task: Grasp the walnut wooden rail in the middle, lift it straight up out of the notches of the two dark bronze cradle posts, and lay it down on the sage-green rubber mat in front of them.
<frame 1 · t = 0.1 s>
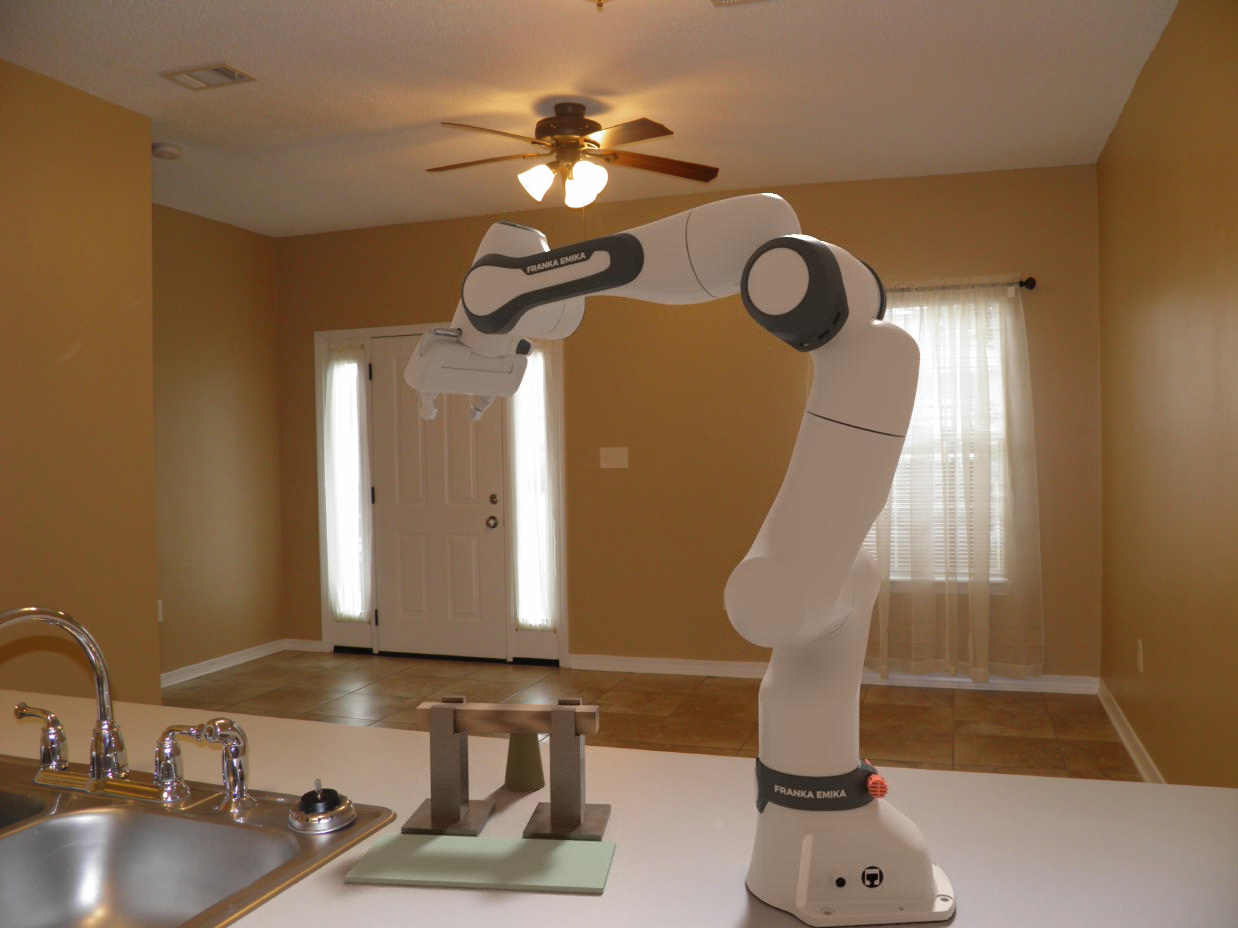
hand: (450, 418, 135), 54 cm above the counter, tool tilted 30°, fingers open, 8 cm apart
green mat: (485, 863, 110), on the counter
cradle posts: (509, 822, 122), on the counter
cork: (524, 785, 136), on the counter
walnut rail: (507, 729, 122), point 12 cm above the counter, touching cradle posts
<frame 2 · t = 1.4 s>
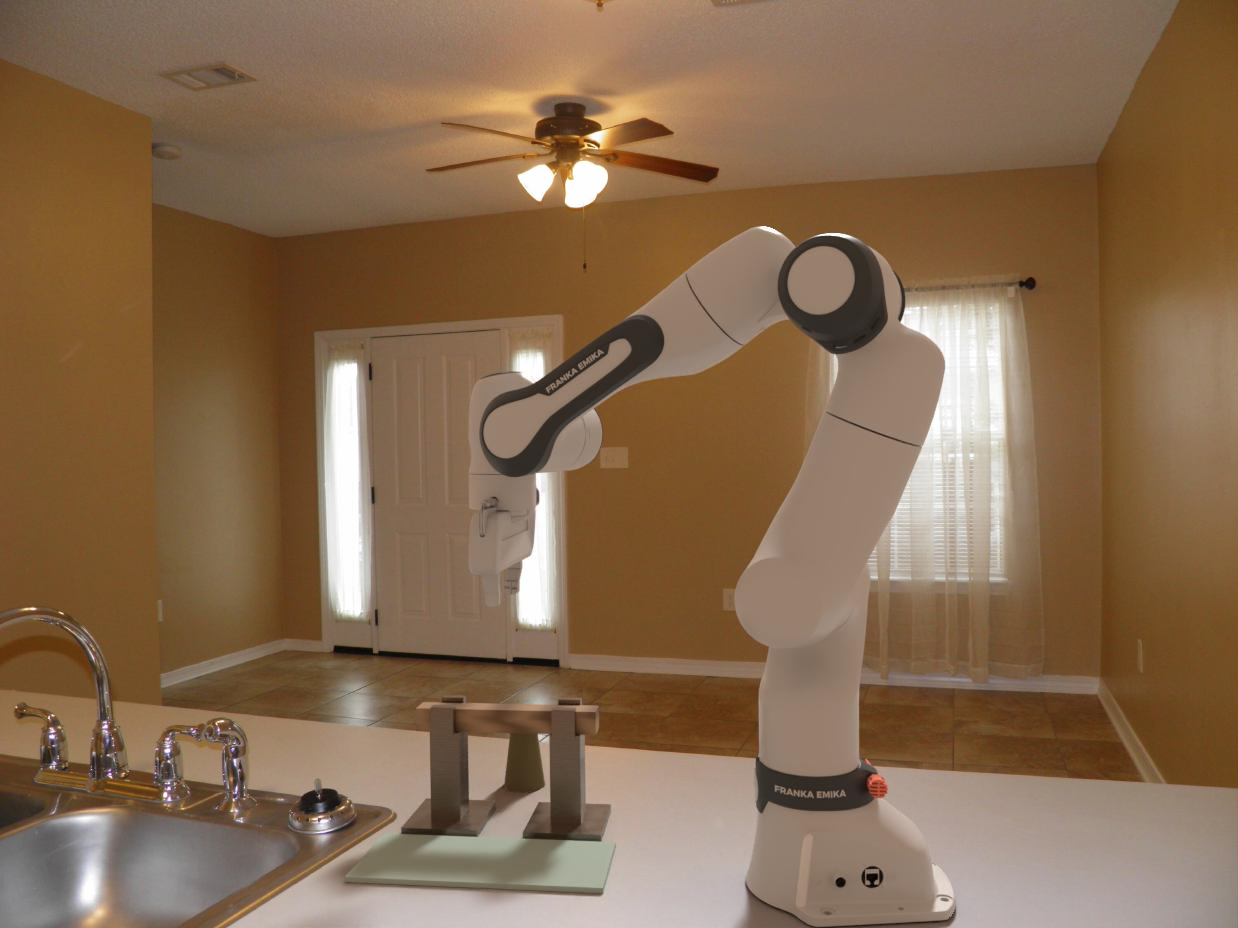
hand: (503, 599, 122), 30 cm above the counter, tool pointing down, fingers open, 8 cm apart
nothing on the counter moved.
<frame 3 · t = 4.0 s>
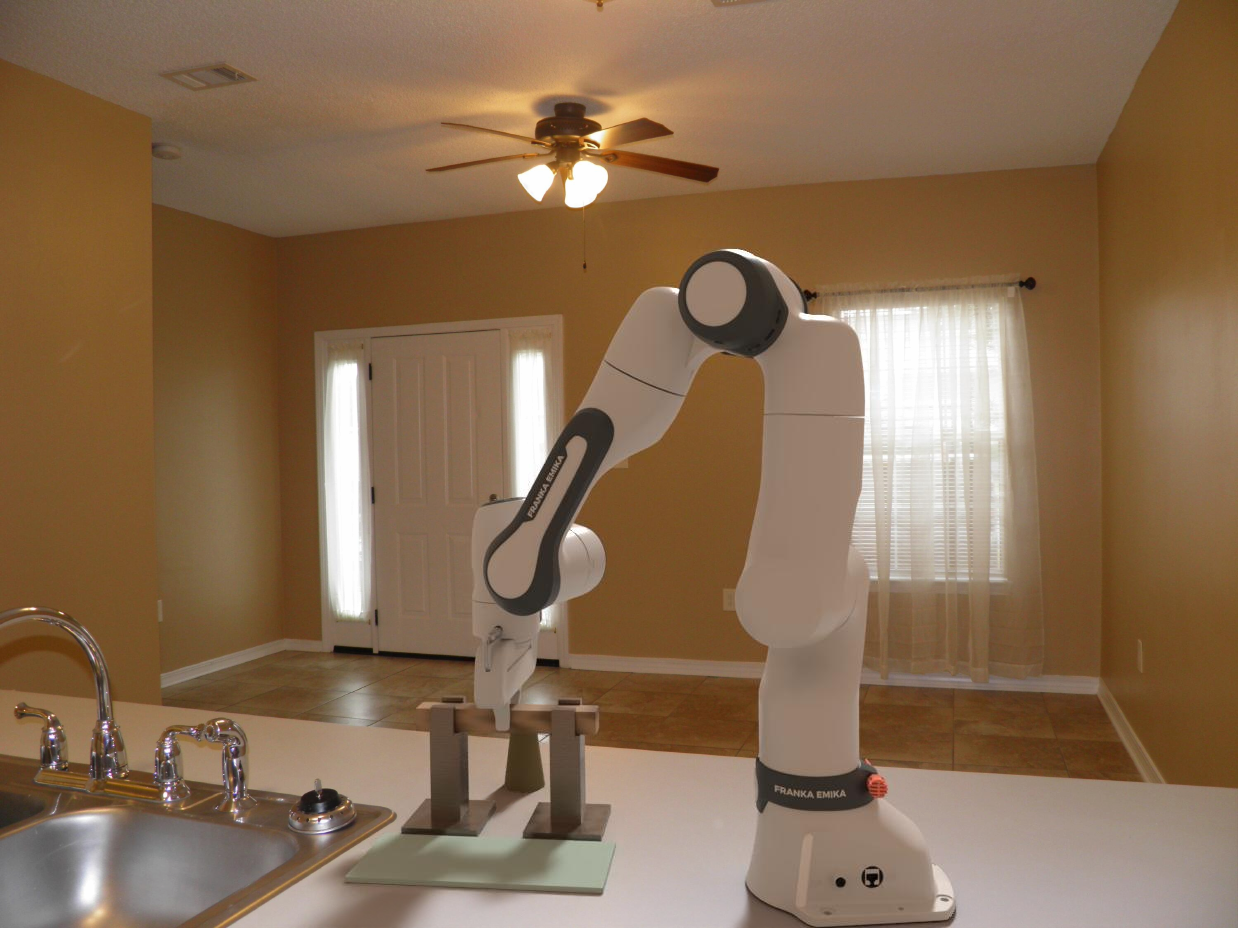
hand: (507, 724, 122), 13 cm above the counter, tool pointing down, fingers closed on walnut rail, 3 cm apart
walnut rail: (507, 729, 122), point 12 cm above the counter, touching cradle posts, gripper
everything else where it was.
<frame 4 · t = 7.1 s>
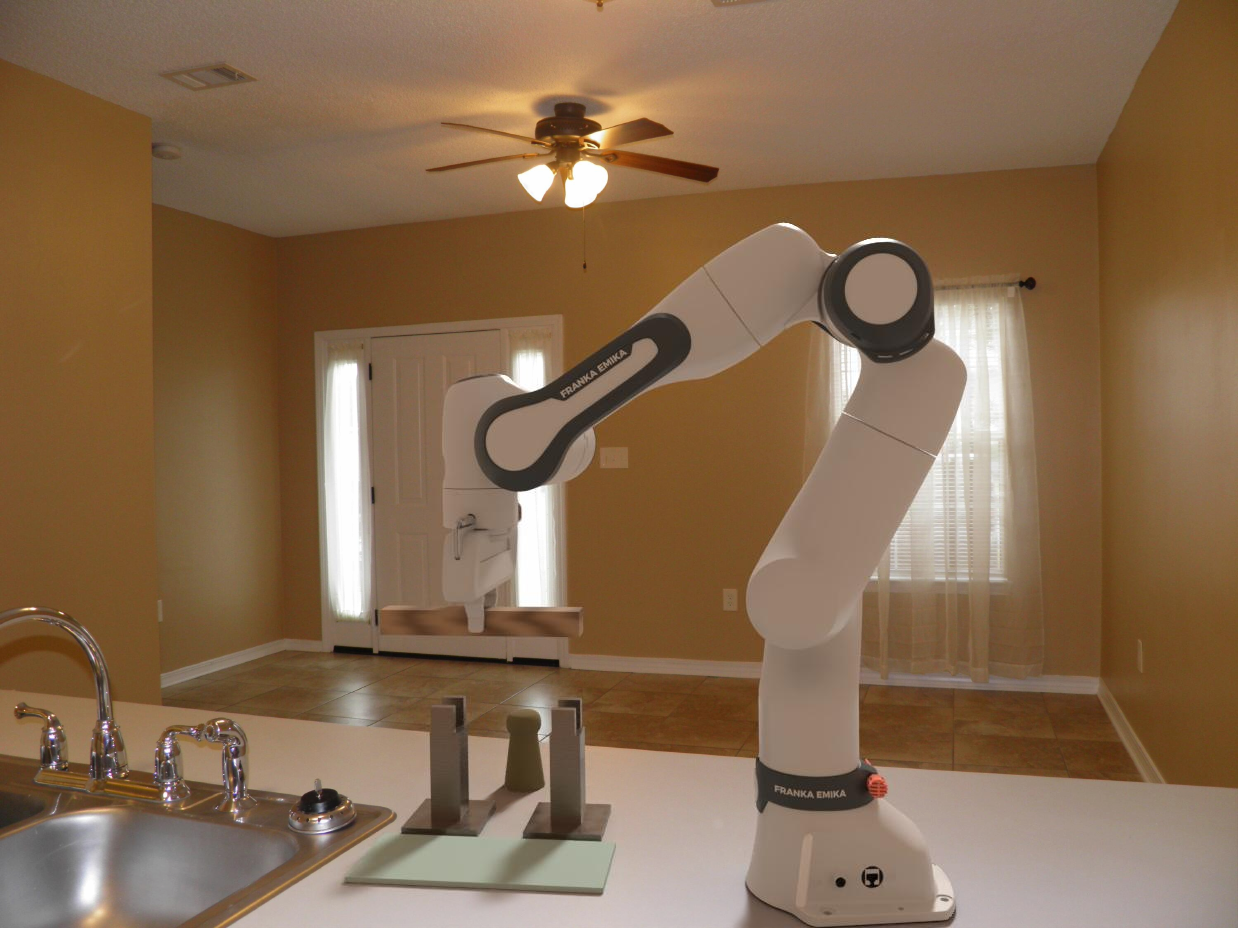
hand: (482, 627, 110), 28 cm above the counter, tool pointing down, fingers closed on walnut rail, 3 cm apart
walnut rail: (481, 633, 110), point 28 cm above the counter, touching gripper
everything else where it was.
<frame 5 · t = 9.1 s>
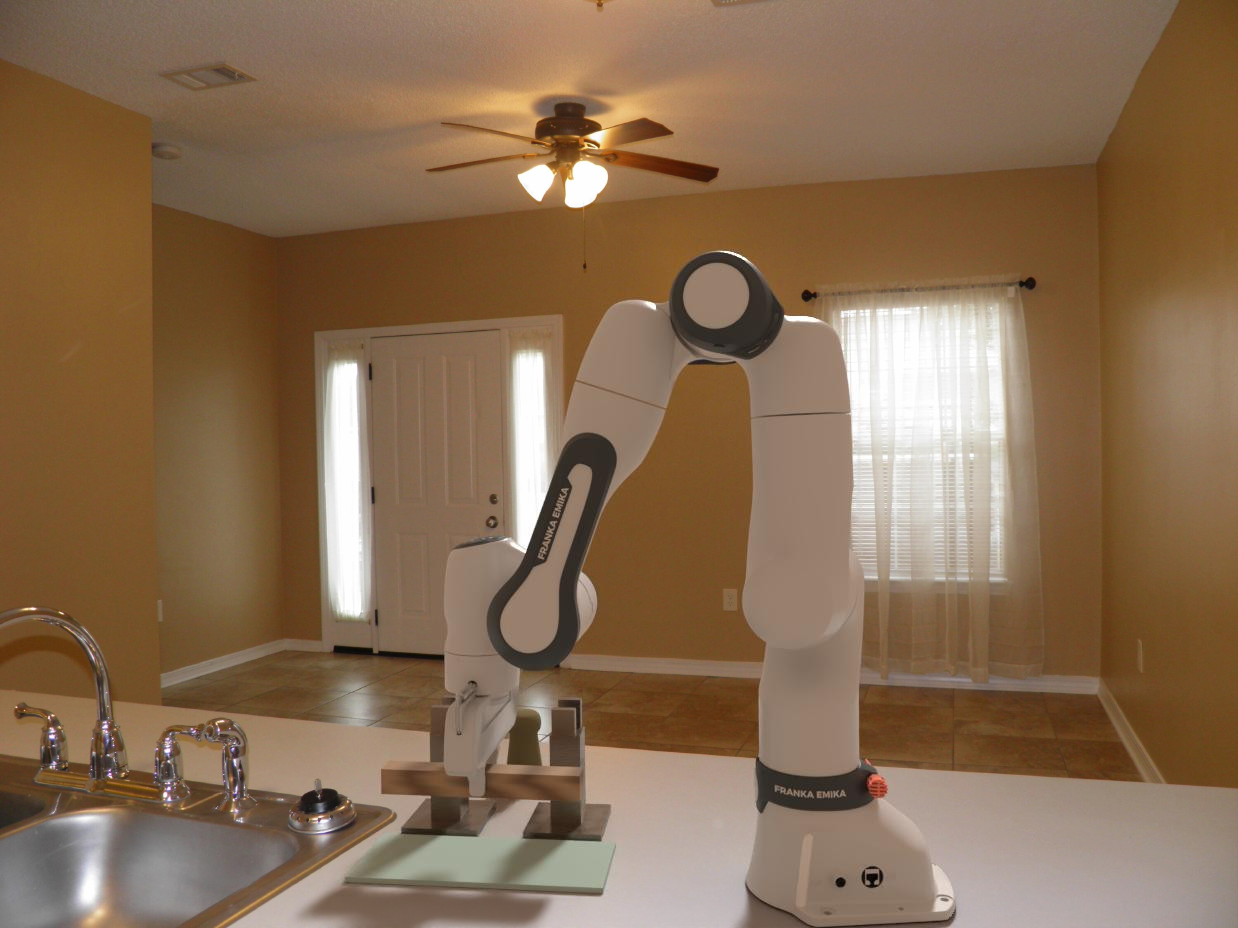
hand: (483, 787, 110), 9 cm above the counter, tool pointing down, fingers closed on walnut rail, 3 cm apart
walnut rail: (482, 792, 110), point 9 cm above the counter, touching gripper
everything else where it was.
when the fingers open (3 cm above the counter, at t = 10.6 s): walnut rail drops 2 cm, resting on green mat.
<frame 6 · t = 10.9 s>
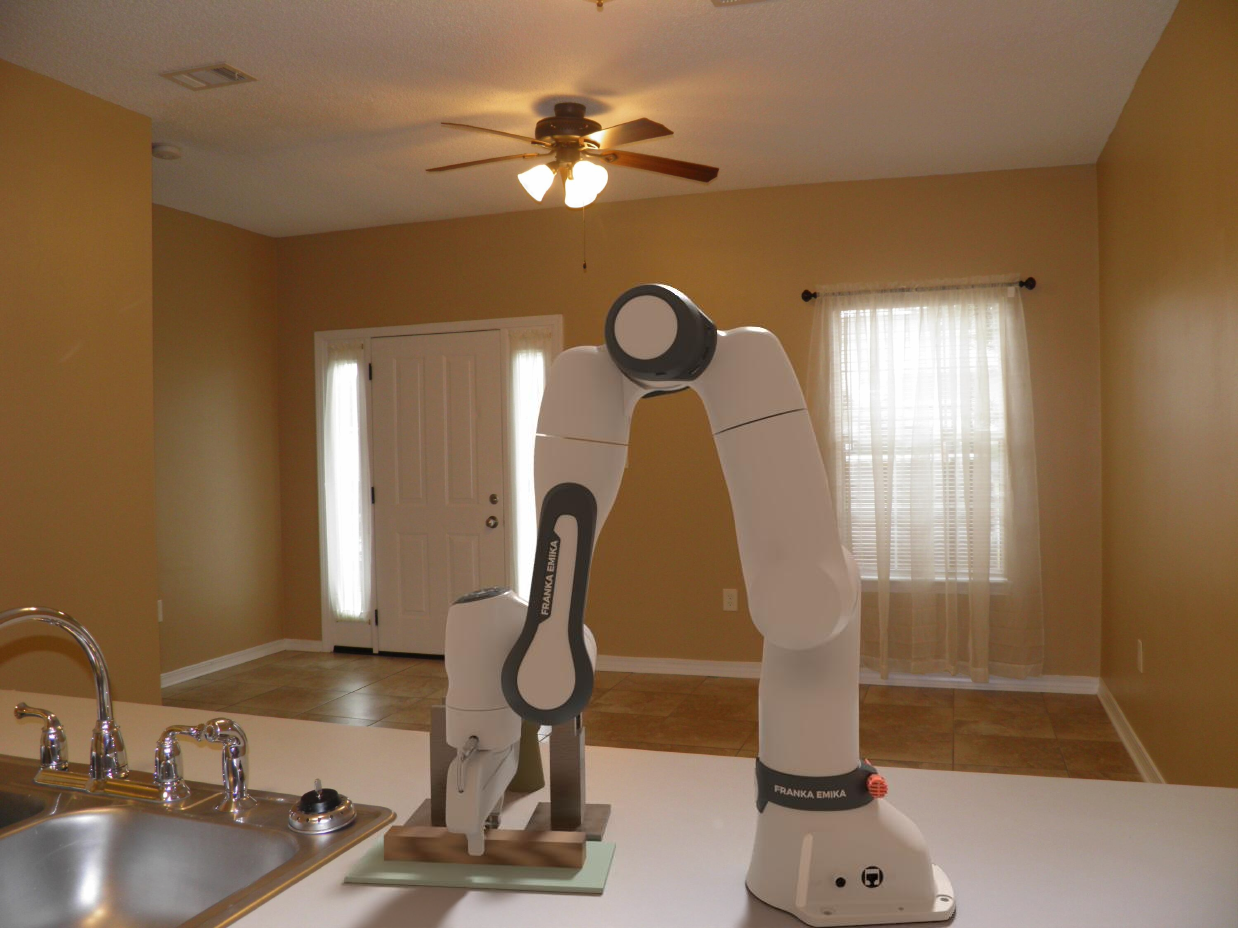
hand: (485, 839, 110), 3 cm above the counter, tool pointing down, fingers open, 6 cm apart
walnut rail: (485, 858, 110), point 1 cm above the counter, touching green mat
everything else where it was.
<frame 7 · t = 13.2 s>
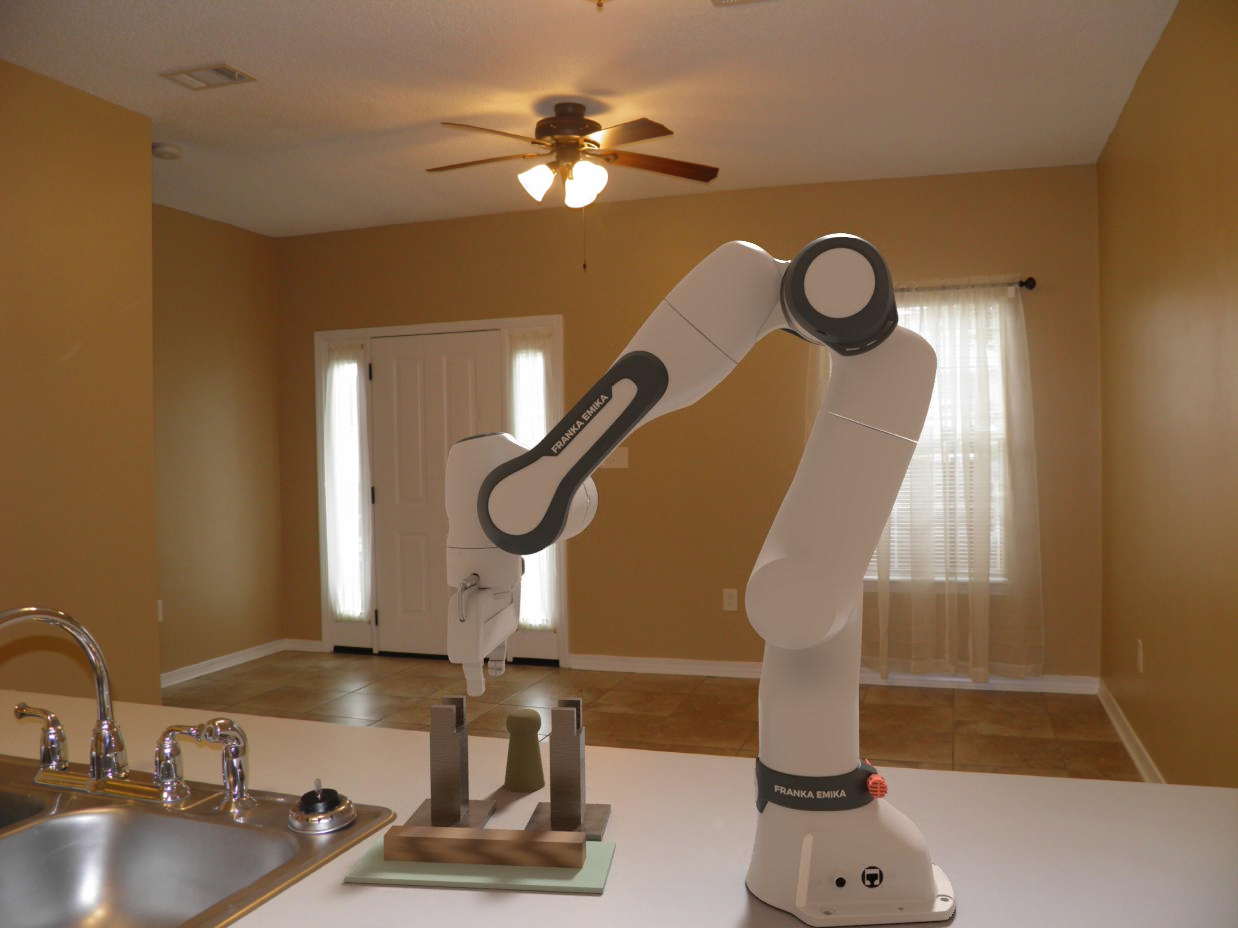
hand: (487, 684, 110), 21 cm above the counter, tool pointing down, fingers open, 8 cm apart
nothing on the counter moved.
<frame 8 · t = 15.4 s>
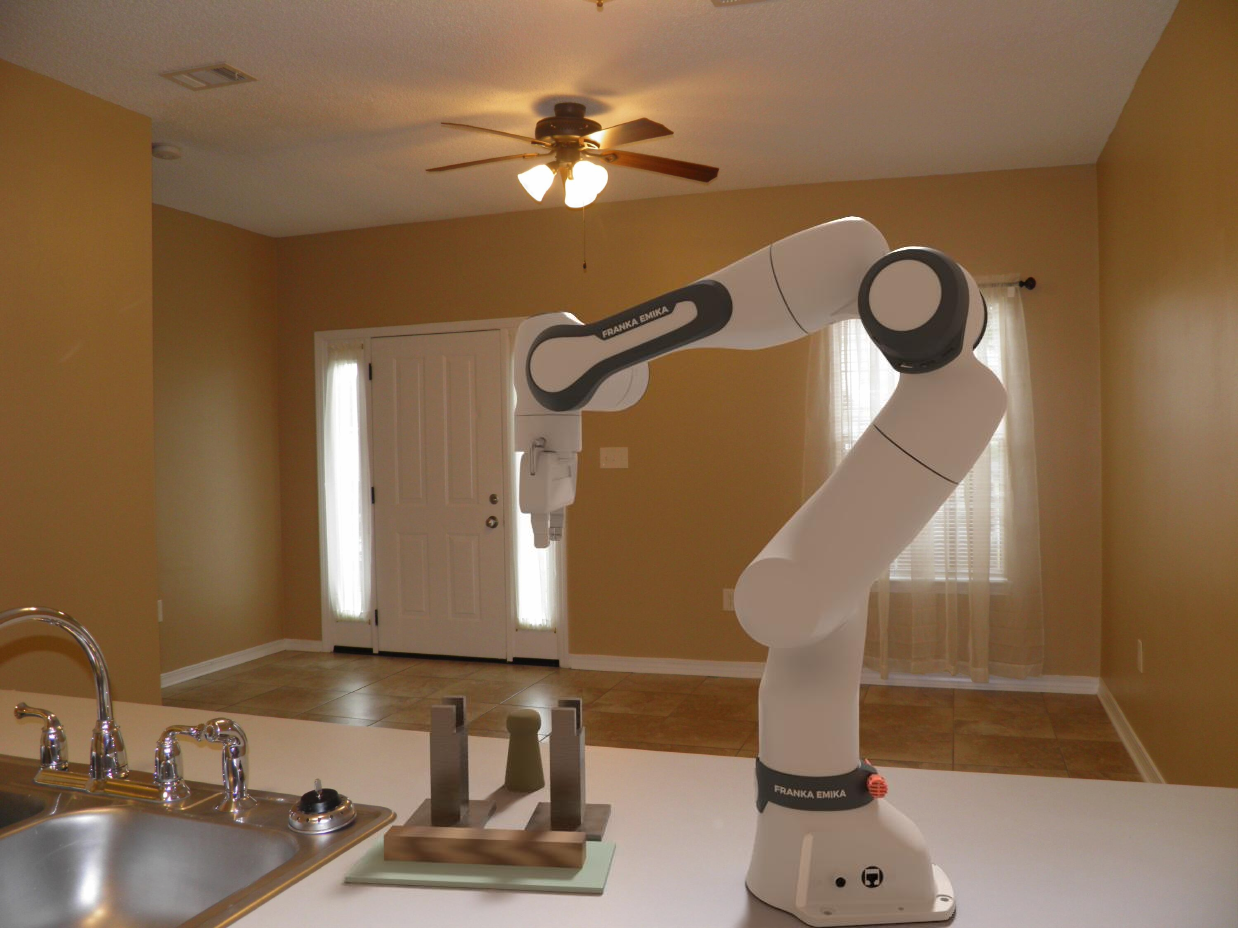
hand: (549, 544, 121), 37 cm above the counter, tool pointing down, fingers open, 8 cm apart
nothing on the counter moved.
at the end: walnut rail inside the target area on the green mat (0.0 cm from its centre), point 0.6 cm above the green mat's base; walnut rail touching green mat; the gripper is holding nothing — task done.
